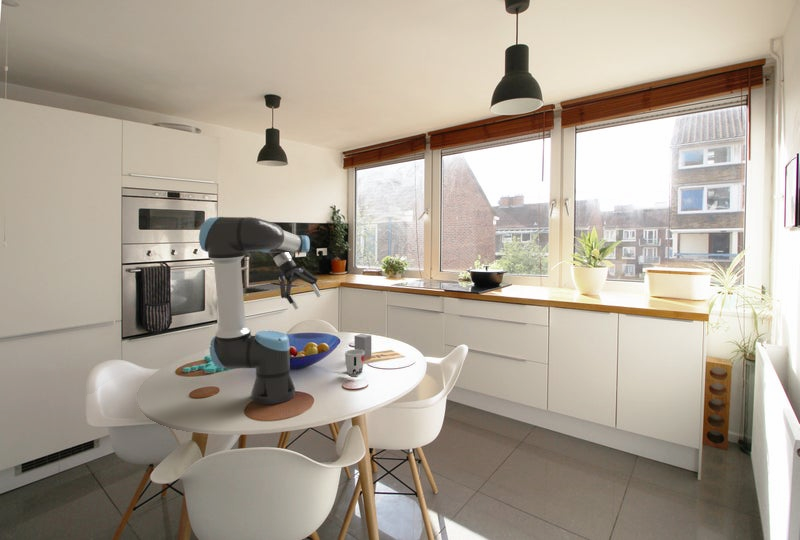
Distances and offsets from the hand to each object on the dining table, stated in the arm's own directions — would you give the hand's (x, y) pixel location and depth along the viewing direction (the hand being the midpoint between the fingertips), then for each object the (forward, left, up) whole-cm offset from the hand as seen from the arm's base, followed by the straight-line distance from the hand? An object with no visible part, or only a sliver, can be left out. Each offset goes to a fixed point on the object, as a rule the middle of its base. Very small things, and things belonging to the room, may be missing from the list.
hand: (308, 302), depth 187 cm
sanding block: (-13, -21, -26) cm, 36 cm away
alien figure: (+15, +38, -29) cm, 50 cm away
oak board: (-13, -28, -28) cm, 42 cm away
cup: (-28, -10, -28) cm, 41 cm away
